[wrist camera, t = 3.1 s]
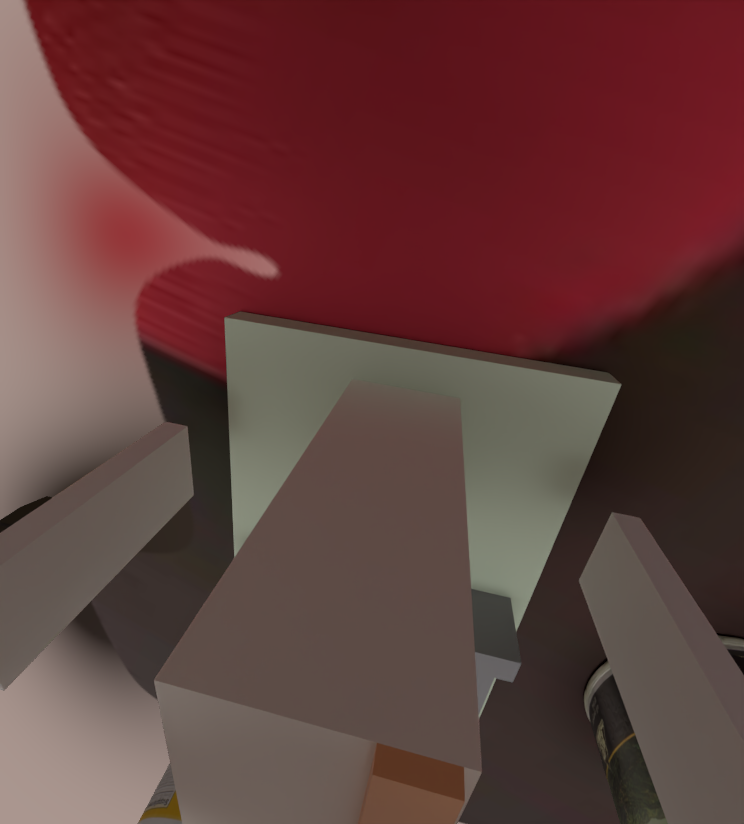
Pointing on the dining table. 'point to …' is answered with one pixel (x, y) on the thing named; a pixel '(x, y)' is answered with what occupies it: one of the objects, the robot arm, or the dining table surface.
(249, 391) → the board
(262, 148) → the dining table surface
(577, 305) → the dining table surface
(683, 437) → the dining table surface
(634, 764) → the coffee can
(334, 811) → the white orange rectangular block
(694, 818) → the robot arm
